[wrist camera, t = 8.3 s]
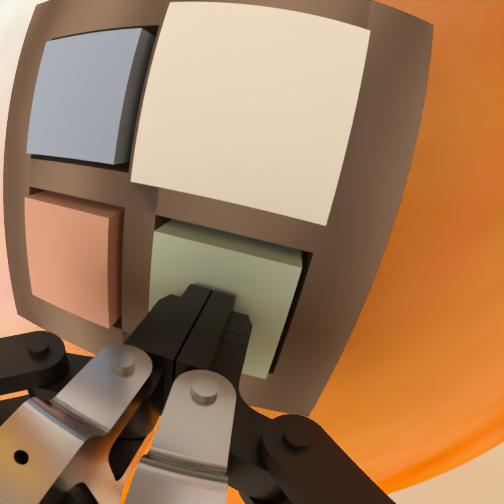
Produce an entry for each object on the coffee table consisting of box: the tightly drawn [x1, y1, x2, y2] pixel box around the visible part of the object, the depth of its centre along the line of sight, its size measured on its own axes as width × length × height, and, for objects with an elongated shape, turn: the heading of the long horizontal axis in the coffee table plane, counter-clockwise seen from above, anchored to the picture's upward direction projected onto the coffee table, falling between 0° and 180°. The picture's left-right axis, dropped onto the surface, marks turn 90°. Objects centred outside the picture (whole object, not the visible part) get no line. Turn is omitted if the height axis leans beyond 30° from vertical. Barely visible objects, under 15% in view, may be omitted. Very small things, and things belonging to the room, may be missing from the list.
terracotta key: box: [25, 190, 125, 329], centre depth 11 cm, size 5×5×2 cm
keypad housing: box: [3, 0, 433, 416], centre depth 11 cm, size 16×16×4 cm
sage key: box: [148, 219, 302, 379], centre depth 11 cm, size 5×5×2 cm
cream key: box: [131, 2, 370, 226], centre depth 7 cm, size 5×5×2 cm
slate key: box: [26, 28, 156, 165], centre depth 9 cm, size 5×5×2 cm
